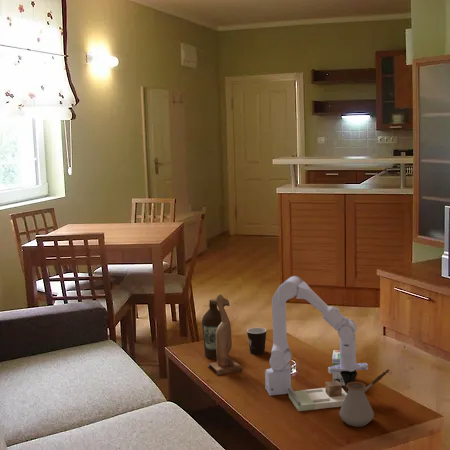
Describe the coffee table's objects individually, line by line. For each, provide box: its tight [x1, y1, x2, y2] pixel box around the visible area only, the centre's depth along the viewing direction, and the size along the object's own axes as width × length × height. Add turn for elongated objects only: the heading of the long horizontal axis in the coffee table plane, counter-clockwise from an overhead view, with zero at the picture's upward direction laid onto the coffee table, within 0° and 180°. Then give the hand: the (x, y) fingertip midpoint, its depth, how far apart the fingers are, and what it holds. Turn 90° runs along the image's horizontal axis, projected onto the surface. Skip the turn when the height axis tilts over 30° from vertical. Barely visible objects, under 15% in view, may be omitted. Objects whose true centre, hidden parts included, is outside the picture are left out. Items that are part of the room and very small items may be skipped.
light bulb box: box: [331, 349, 345, 387], centre depth 262 cm, size 11×7×11 cm, turn 168°
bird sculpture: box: [207, 293, 242, 376], centre depth 278 cm, size 11×12×32 cm
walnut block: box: [324, 380, 343, 397], centre depth 245 cm, size 5×5×4 cm
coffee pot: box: [338, 368, 393, 428], centre depth 229 cm, size 21×12×15 cm, turn 121°
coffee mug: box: [246, 327, 267, 356], centre depth 300 cm, size 12×9×10 cm
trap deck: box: [288, 387, 348, 412], centre depth 245 cm, size 20×13×4 cm, turn 100°
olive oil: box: [201, 298, 222, 360], centre depth 296 cm, size 11×11×25 cm
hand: (348, 389), depth 246 cm, fingers closed
